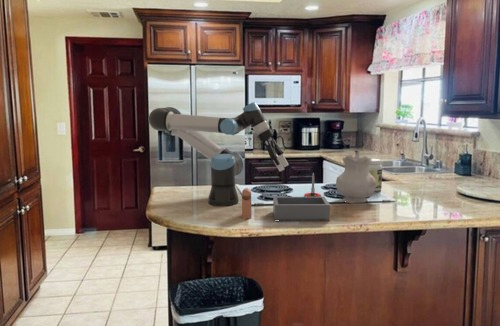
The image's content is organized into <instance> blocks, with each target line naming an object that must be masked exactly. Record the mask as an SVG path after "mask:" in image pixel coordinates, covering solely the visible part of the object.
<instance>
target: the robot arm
mask: <svg viewBox="0 0 500 326" xmlns="http://www.w3.org/2000/svg"><path fill="white" fill-rule="evenodd" d="M242 110H243V112H242V113H241V114H239V115H237V116H235V117H220V116H219V117H217V116H205V115H193V114H182V113H181V111H180V110H179V109H178V108H176V107H172V106H166V107H158V108H154V109H153V110H151V111H150V113H149V114H148V123H149V125H150V127H151V128H152V129H154V130H155V131H158V132H159V131H160V132H161V131H165V132H167V133H168V134H170V135H171V136H177V137H178V138H180V139H181V140H182V141H184V142H185V143H187V144H188V145H189V146H191V148H193V149H194V150H196V151H197V152H198V153H200V154H201V155H203V156H204V157H205V158H206V159H208V160H210V181H211V183H210V184H211V185H210V186H211V188H210V191H209V194H208V198H207V203H208V204H209V205H211V206H217V207H227V206H233V205H237V204H239V201H240V199H239V194H238V192H237V189H236V176H238V175H240V174H241V173H242V171H243V170H244V166H245V161H244V159H243V157H242V155H240V154H239V153H237V152H232V151H231V150H229V149H228V148H227V147H221V146H219V145H218V144H217V143H216V142H214V141H213V140H211V139H210V138H208V137H207V136H206V135H204V134H203V133H204V132H205V133H217V134H225V135H231V136H236V135H237V134H239V133H241V132H242V131H243V130H245V129H247V128H249V127H251V126H252V128H253V131H255V133H256V135H257V137H258V139H259V141H260V142H263V141H264V142H263V144H264V145H265V148H266V150H267V153H268V155H269V158H270V161H271V162H272V161H273V162H274V165H275V166H276V168H277V169H278V172H282V171H285V168H286V167H288V166H289V163H288V161H287V159H286V157H285V156H284V153H285V152H284V151H283V150H282V148H281V147H280V146H279V145H278V142H276V140H275V139H274V137H272V136H274V132H273V130H272V128H270V125H269V122H268V121H267V120H266V118H265V116H264V114H263V113H262V109H261V108H260V107H259V106H258V104H257V103H256V102H250V103H249V104H247V105H245V106H244V107H243V108H242ZM202 132H203V133H202Z"/></svg>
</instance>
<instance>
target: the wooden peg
mask: <svg viewBox="0 0 500 326" xmlns="http://www.w3.org/2000/svg"><path fill="white" fill-rule="evenodd" d="M242 218H251V219H252V190H251V189H249V188H246V187H245V188H243V190H242V192H241V219H242Z"/></svg>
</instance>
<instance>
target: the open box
mask: <svg viewBox="0 0 500 326" xmlns="http://www.w3.org/2000/svg"><path fill="white" fill-rule="evenodd" d="M272 199H273V202H272V203H273V207H272V208H273V209H272V210H273V218H275V219H274V221H275V220H279V221H278V222H330V221H331V204H330V203H329V201H328V200H327V197H325V196H320V197H306V196H273V198H272Z"/></svg>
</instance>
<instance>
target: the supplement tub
mask: <svg viewBox="0 0 500 326" xmlns="http://www.w3.org/2000/svg"><path fill="white" fill-rule="evenodd" d="M371 159H372V160H371V162H370V164H369V168H368V170H369V173H370V174H371V175H372V176H373V177H374V178H375V180H376V188H375V191H374V192H380V191H381V190H382V182H383V181H382V180H383V166H382V164H381V163H382V160H381V159H379V158H371Z"/></svg>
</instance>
